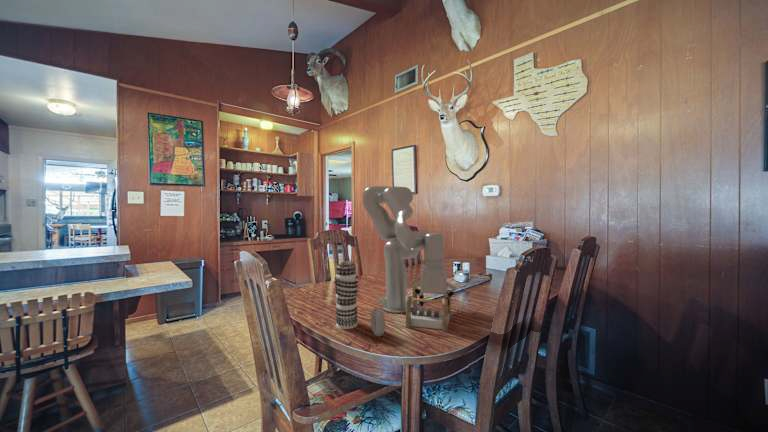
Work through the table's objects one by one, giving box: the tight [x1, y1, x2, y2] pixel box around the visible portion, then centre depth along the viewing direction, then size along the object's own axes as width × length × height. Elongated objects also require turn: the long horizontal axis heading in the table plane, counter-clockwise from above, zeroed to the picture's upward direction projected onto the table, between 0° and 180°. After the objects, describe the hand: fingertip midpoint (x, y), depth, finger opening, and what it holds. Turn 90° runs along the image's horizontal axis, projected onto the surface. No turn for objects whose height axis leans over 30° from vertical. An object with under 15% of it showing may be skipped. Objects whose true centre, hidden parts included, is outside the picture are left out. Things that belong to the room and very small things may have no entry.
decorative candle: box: [334, 260, 359, 330], centre depth 121 cm, size 9×9×25 cm
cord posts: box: [405, 287, 452, 333], centre depth 122 cm, size 16×15×12 cm
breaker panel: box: [411, 307, 450, 330], centre depth 122 cm, size 15×10×5 cm, turn 73°
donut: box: [370, 307, 386, 337], centre depth 111 cm, size 10×4×10 cm, turn 19°
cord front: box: [410, 297, 443, 304], centre depth 116 cm, size 13×1×1 cm, turn 73°
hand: (434, 306), depth 122 cm, fingers open, 9 cm apart
